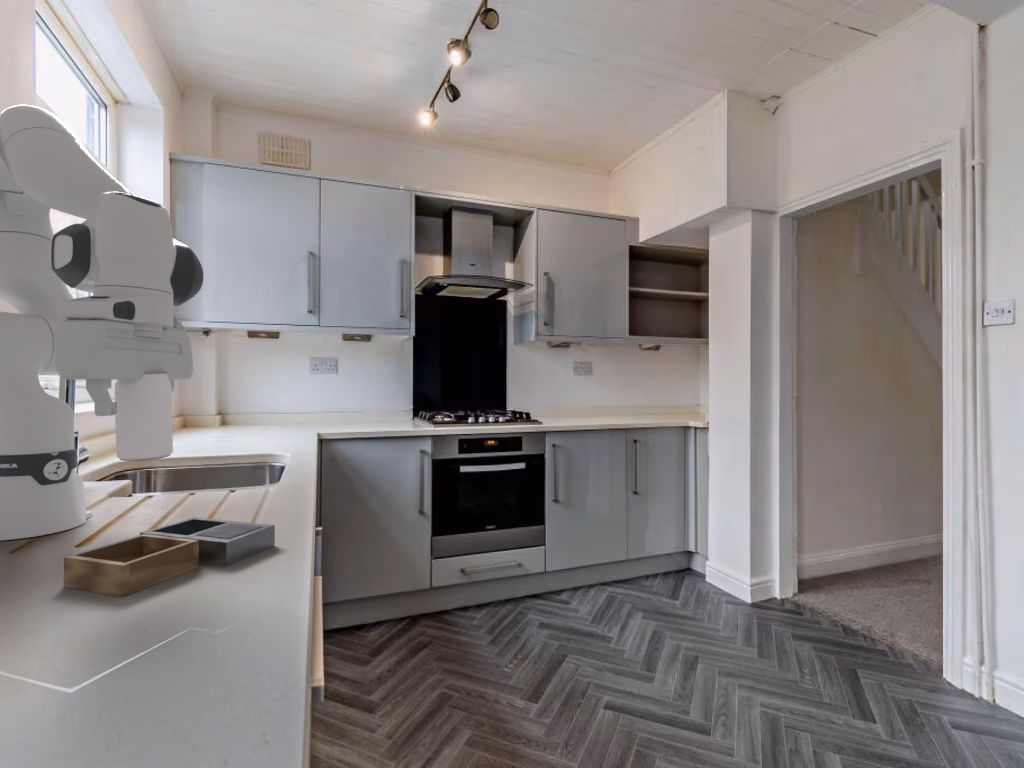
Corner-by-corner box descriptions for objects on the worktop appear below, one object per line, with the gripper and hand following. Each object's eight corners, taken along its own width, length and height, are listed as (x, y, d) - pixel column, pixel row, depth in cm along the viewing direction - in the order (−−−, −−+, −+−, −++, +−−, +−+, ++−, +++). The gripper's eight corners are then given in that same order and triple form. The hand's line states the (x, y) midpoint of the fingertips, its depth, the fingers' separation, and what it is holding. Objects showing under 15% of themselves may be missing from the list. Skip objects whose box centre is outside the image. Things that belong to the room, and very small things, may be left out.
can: (144, 462, 67) (142, 373, 67) (104, 460, 69) (101, 372, 68) (184, 453, 74) (182, 372, 73) (146, 452, 75) (144, 371, 74)
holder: (63, 586, 66) (63, 557, 66) (144, 559, 76) (144, 533, 76) (122, 597, 62) (122, 565, 62) (198, 567, 73) (198, 540, 73)
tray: (139, 555, 78) (139, 531, 78) (194, 537, 87) (194, 516, 87) (226, 566, 73) (226, 542, 73) (274, 546, 82) (274, 524, 82)
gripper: (165, 321, 80) (165, 409, 80) (42, 301, 59) (42, 418, 59) (204, 322, 79) (204, 409, 80) (95, 301, 59) (94, 419, 59)
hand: (134, 413), depth 69 cm, fingers open, 8 cm apart
